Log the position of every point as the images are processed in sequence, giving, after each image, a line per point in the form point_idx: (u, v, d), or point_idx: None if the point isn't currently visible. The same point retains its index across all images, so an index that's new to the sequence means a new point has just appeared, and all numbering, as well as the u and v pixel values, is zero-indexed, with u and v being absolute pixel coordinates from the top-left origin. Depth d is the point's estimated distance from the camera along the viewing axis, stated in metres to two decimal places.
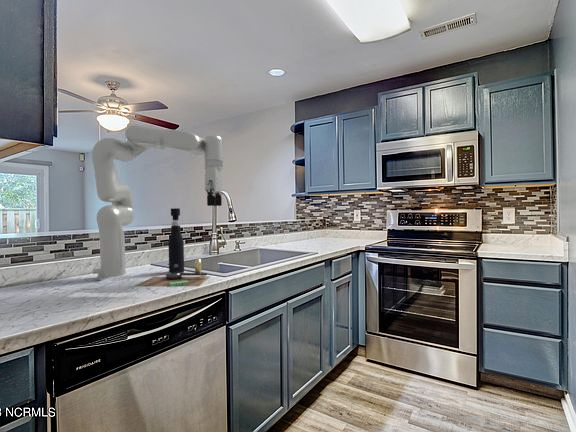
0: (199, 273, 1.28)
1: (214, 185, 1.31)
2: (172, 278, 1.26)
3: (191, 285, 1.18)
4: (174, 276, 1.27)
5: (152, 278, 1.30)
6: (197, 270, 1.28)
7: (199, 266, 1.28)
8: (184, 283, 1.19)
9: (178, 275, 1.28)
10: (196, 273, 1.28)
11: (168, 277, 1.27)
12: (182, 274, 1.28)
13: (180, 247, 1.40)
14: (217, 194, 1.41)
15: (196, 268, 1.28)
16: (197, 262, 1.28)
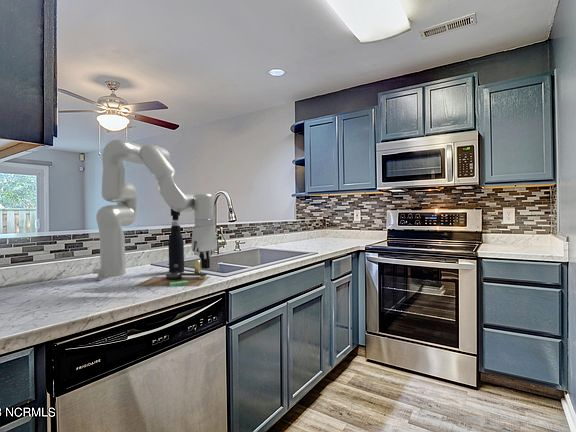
0: (198, 273, 1.27)
1: None
2: (172, 278, 1.26)
3: (191, 285, 1.18)
4: (174, 276, 1.26)
5: (152, 278, 1.30)
6: (196, 270, 1.27)
7: (198, 266, 1.27)
8: (184, 283, 1.19)
9: (178, 275, 1.27)
10: (195, 273, 1.27)
11: (168, 277, 1.27)
12: (182, 274, 1.28)
13: (180, 247, 1.40)
14: (207, 255, 1.32)
15: (195, 268, 1.27)
16: (196, 262, 1.27)
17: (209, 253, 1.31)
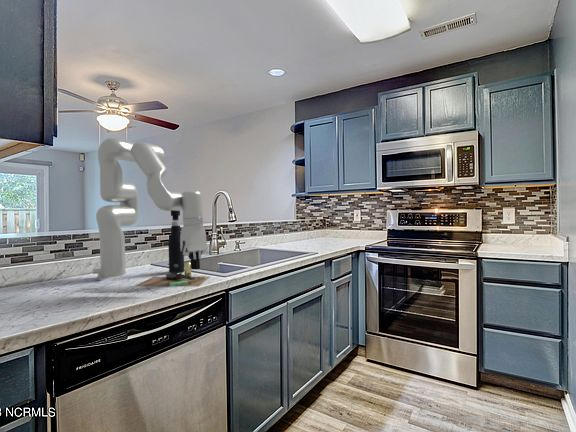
0: (187, 277, 1.22)
1: None
2: (168, 278, 1.27)
3: (191, 285, 1.18)
4: (169, 276, 1.26)
5: (152, 278, 1.30)
6: (185, 273, 1.22)
7: (187, 269, 1.22)
8: (184, 283, 1.19)
9: (173, 276, 1.26)
10: (184, 276, 1.22)
11: (166, 276, 1.28)
12: (177, 275, 1.26)
13: None
14: (196, 255, 1.27)
15: None
16: (185, 265, 1.22)
17: (199, 253, 1.26)
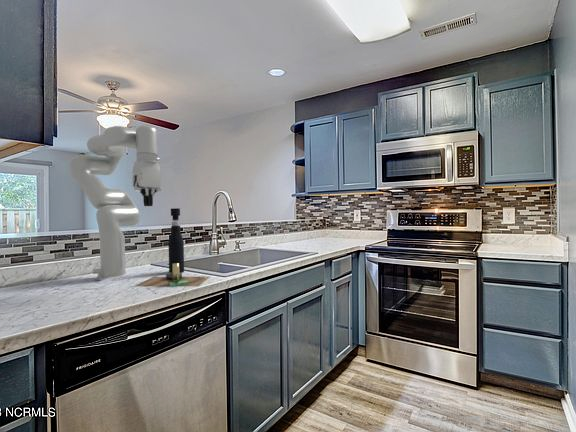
0: (173, 278, 1.19)
1: (141, 186, 1.21)
2: (166, 277, 1.28)
3: (191, 285, 1.18)
4: (167, 276, 1.27)
5: (152, 278, 1.30)
6: (172, 275, 1.20)
7: (173, 271, 1.19)
8: (184, 283, 1.19)
9: (170, 276, 1.26)
10: None
11: None
12: (172, 276, 1.26)
13: (180, 247, 1.40)
14: (150, 192, 1.26)
15: None
16: None
17: (152, 190, 1.25)
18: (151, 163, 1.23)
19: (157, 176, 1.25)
